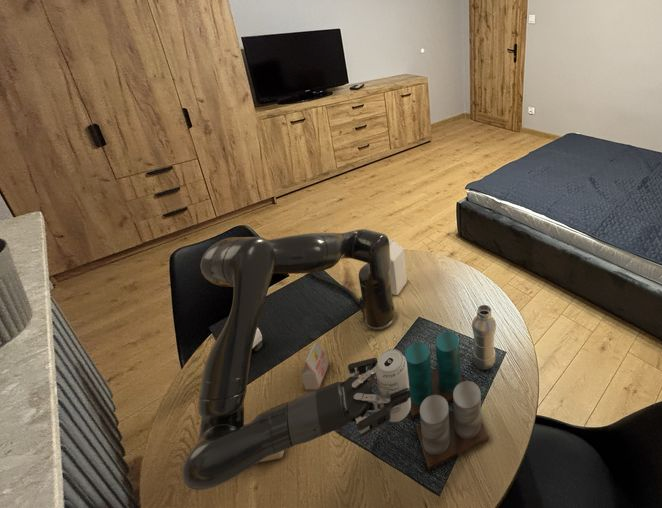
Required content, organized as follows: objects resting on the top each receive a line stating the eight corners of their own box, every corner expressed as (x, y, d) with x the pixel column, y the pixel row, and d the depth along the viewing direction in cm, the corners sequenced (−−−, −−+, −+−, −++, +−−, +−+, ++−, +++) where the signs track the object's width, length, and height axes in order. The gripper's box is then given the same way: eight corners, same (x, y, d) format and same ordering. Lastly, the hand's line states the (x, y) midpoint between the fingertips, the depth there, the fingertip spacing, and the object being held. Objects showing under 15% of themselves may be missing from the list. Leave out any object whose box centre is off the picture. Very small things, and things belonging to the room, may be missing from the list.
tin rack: (428, 470, 81) (425, 436, 76) (416, 430, 89) (413, 397, 84) (488, 439, 87) (489, 405, 82) (472, 404, 94) (472, 371, 89)
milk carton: (406, 282, 136) (402, 239, 128) (397, 295, 130) (392, 251, 122) (389, 278, 138) (384, 236, 131) (379, 291, 132) (374, 247, 124)
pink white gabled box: (305, 389, 98) (298, 363, 95) (315, 366, 105) (309, 341, 101) (318, 389, 98) (312, 363, 94) (328, 366, 105) (322, 341, 101)
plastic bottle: (494, 375, 102) (495, 321, 94) (470, 370, 103) (469, 317, 95) (497, 354, 107) (498, 302, 100) (474, 351, 109) (474, 299, 101)
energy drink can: (417, 405, 78) (412, 355, 72) (397, 431, 73) (391, 380, 67) (395, 390, 81) (389, 341, 75) (376, 414, 76) (367, 364, 70)
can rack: (413, 418, 91) (408, 373, 85) (403, 387, 99) (398, 343, 92) (467, 394, 97) (467, 350, 90) (454, 365, 104) (453, 323, 98)
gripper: (316, 439, 61) (414, 397, 67) (311, 366, 73) (395, 336, 79) (323, 465, 64) (416, 423, 70) (318, 391, 76) (397, 361, 82)
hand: (404, 377), depth 74 cm, fingers closed on energy drink can, 6 cm apart
